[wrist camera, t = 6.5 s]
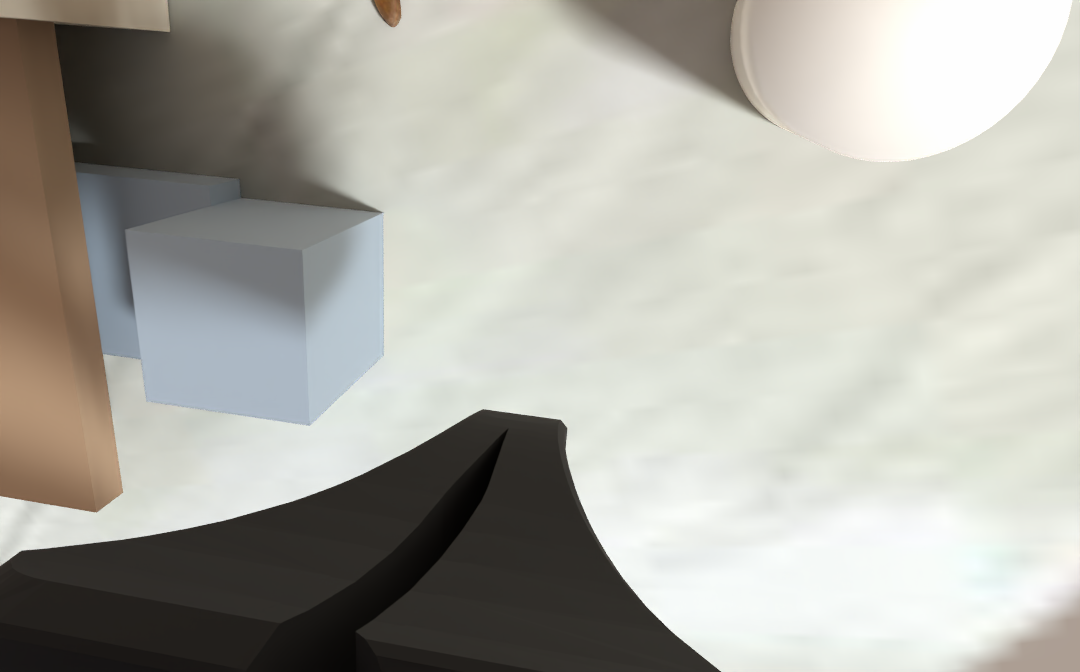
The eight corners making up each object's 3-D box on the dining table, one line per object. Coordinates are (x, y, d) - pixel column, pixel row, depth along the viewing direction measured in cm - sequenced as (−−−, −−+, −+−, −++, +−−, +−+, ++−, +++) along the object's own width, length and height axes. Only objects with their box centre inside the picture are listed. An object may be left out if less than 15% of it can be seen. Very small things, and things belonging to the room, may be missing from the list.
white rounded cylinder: (924, 147, 16) (1022, 173, 12) (715, 129, 17) (731, 149, 12) (980, -86, 15) (1120, -160, 10) (748, -95, 15) (780, -169, 11)
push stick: (384, 371, 21) (310, 445, 16) (-105, 304, 23) (-280, 355, 19) (383, 193, 19) (301, 225, 15) (-145, 139, 21) (-348, 154, 17)
